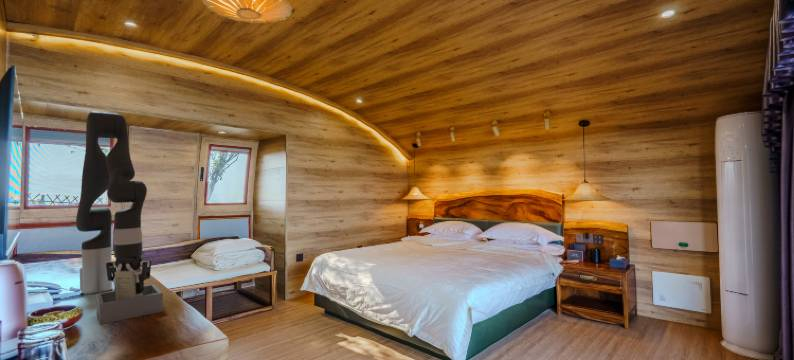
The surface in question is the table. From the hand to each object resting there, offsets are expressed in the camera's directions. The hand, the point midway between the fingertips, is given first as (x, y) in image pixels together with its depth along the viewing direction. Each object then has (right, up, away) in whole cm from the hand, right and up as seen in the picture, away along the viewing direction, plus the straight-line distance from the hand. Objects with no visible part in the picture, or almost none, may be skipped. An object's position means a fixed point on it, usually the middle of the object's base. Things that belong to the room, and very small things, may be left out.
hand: (129, 293), depth 122 cm
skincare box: (0, -5, 0) cm, 5 cm away
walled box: (0, -6, 0) cm, 6 cm away
